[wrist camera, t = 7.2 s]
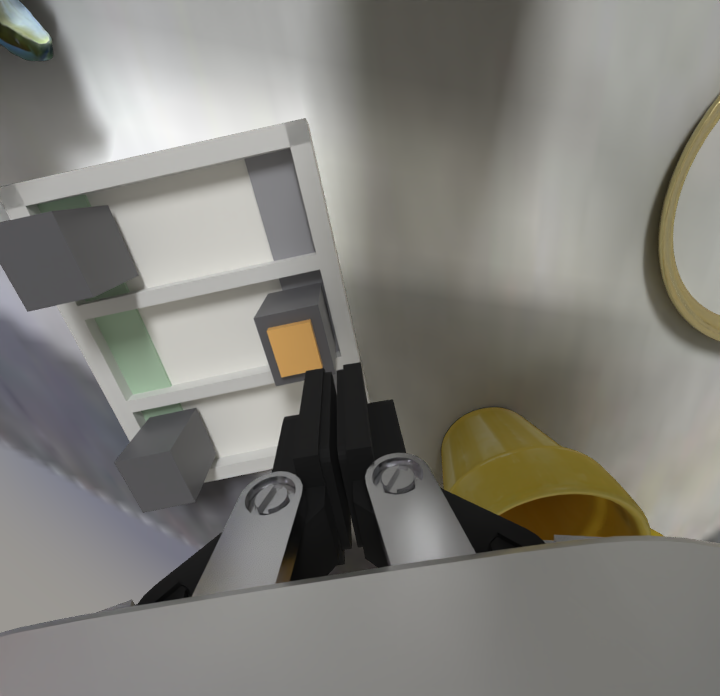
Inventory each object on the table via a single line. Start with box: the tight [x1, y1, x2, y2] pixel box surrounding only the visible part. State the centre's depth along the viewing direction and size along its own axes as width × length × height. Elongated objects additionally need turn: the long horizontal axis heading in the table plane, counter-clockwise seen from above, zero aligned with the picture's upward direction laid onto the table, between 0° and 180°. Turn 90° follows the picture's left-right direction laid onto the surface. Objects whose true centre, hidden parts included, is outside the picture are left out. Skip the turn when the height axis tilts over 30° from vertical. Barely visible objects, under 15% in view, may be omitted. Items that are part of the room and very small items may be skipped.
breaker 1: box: [0, 205, 139, 311], centre depth 18 cm, size 3×4×4 cm
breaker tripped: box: [254, 282, 336, 386], centre depth 20 cm, size 3×4×5 cm
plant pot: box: [441, 407, 651, 541], centre depth 24 cm, size 10×10×10 cm
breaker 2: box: [114, 408, 216, 513], centre depth 23 cm, size 3×4×4 cm
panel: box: [0, 118, 370, 483], centre depth 23 cm, size 15×19×2 cm
